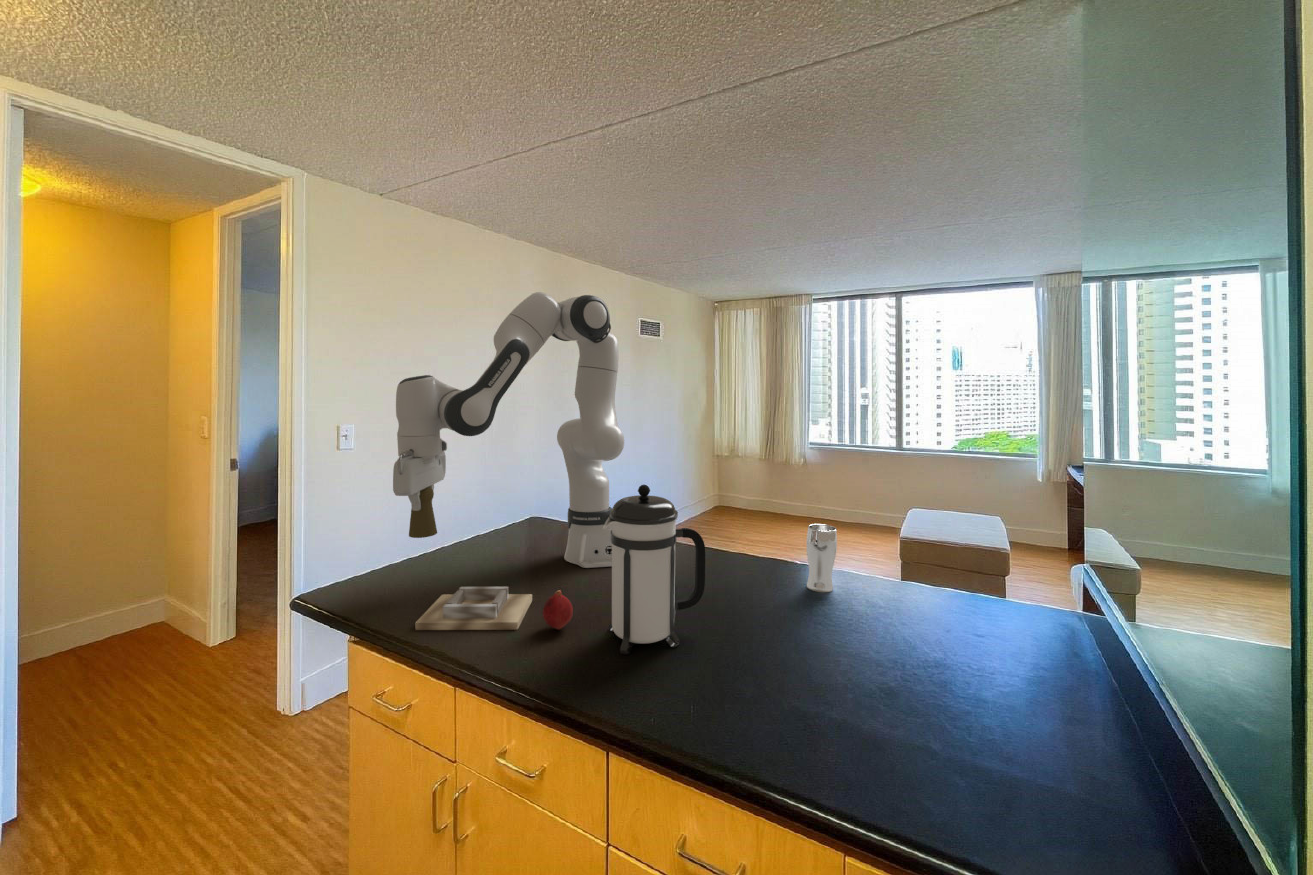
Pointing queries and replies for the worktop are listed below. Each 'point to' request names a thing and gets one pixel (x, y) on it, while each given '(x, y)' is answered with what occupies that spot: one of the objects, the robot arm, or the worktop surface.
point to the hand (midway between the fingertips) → (422, 507)
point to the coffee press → (648, 569)
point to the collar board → (476, 610)
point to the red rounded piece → (557, 611)
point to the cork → (423, 517)
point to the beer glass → (821, 556)
